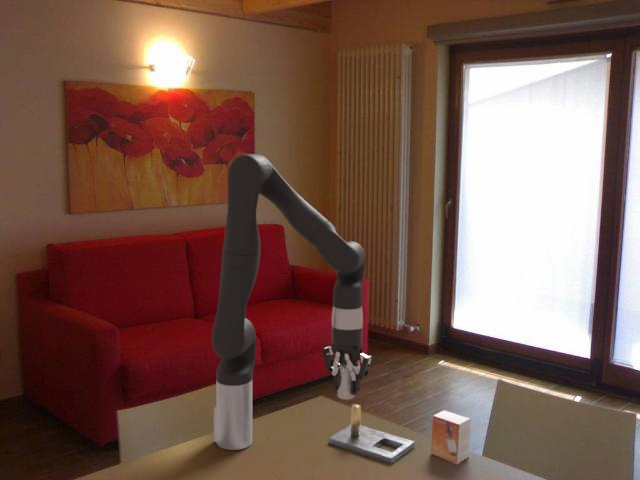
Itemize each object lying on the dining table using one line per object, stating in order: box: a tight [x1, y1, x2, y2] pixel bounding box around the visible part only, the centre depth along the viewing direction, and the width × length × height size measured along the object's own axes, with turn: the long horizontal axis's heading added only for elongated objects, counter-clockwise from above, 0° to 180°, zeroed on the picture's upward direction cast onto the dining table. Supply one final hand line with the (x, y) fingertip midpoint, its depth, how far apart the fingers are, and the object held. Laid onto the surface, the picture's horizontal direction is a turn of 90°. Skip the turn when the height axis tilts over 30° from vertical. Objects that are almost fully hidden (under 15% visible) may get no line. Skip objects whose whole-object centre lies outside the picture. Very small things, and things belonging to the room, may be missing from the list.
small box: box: [430, 409, 472, 465], centre depth 174 cm, size 8×6×10 cm
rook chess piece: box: [336, 365, 356, 401], centre depth 169 cm, size 4×4×8 cm
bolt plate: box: [328, 403, 416, 465], centre depth 179 cm, size 19×12×10 cm, turn 54°
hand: (346, 391), depth 170 cm, fingers closed on rook chess piece, 4 cm apart
